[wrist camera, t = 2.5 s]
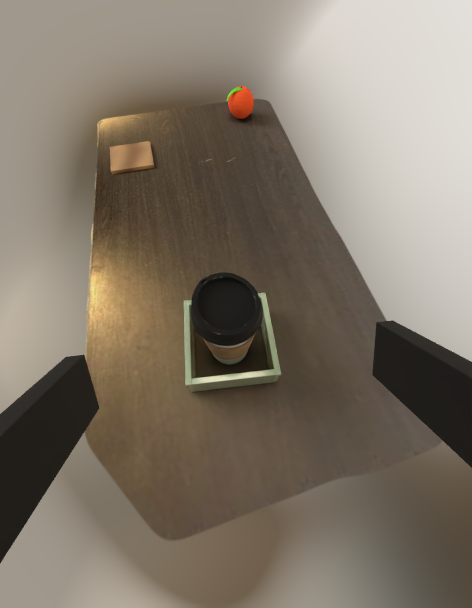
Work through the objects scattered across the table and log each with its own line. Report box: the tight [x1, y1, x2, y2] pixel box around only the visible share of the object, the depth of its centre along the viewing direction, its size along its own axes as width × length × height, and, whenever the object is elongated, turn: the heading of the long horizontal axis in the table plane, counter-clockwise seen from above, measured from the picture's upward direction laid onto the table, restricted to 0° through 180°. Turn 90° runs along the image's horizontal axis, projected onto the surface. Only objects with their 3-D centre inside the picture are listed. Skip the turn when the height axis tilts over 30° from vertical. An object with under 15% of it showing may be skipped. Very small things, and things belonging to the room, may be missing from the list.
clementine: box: [226, 86, 254, 119], centre depth 70 cm, size 8×7×7 cm
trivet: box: [110, 141, 154, 174], centre depth 64 cm, size 10×10×1 cm
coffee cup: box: [191, 273, 263, 365], centre depth 34 cm, size 8×8×15 cm
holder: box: [184, 293, 281, 392], centre depth 39 cm, size 13×13×5 cm
